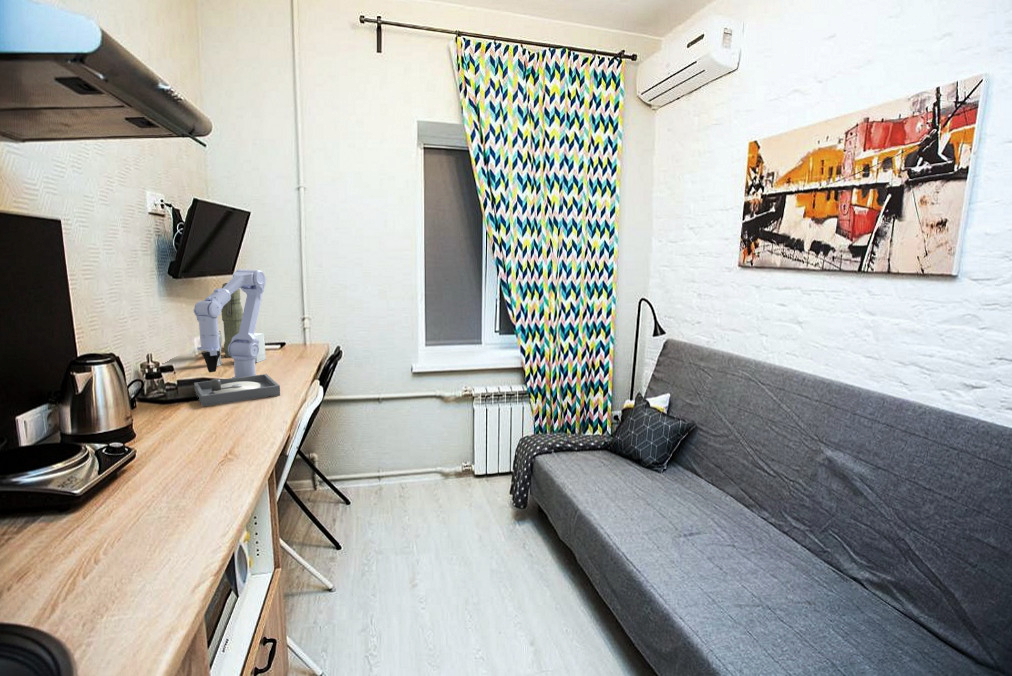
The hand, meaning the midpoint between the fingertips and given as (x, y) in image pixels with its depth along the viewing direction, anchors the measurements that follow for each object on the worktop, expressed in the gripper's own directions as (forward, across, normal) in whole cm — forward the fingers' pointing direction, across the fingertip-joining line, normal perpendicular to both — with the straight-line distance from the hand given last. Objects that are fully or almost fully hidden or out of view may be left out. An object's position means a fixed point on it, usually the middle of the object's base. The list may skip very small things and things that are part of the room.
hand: (212, 371), depth 174 cm
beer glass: (+8, -47, +7) cm, 48 cm away
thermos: (+8, -64, +18) cm, 66 cm away
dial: (+6, +6, +6) cm, 11 cm away
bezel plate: (+8, +6, +7) cm, 12 cm away
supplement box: (+8, -47, +23) cm, 52 cm away
